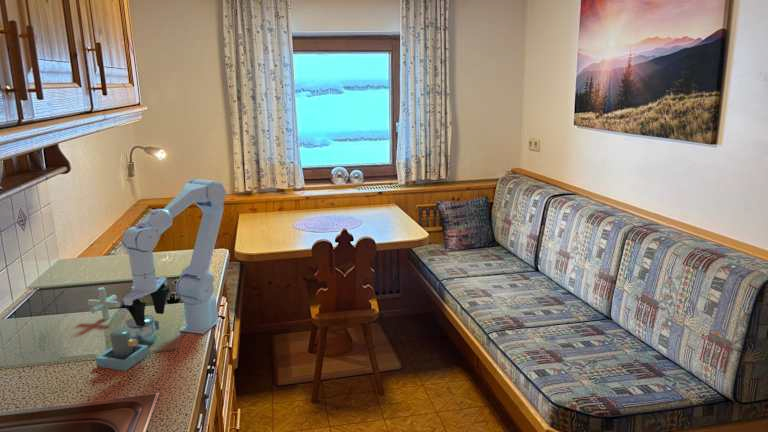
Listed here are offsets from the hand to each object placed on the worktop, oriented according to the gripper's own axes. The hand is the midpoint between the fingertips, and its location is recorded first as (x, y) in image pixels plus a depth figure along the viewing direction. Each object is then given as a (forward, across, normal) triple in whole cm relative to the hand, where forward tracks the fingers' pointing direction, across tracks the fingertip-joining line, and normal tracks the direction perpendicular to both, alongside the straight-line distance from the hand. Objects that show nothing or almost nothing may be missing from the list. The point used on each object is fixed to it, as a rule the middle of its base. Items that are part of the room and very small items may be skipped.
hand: (150, 319), depth 151 cm
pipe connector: (+10, -13, -29) cm, 33 cm away
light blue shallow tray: (+9, +7, -5) cm, 12 cm away
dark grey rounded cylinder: (+9, +7, -4) cm, 12 cm away
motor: (+9, -3, -7) cm, 12 cm away
